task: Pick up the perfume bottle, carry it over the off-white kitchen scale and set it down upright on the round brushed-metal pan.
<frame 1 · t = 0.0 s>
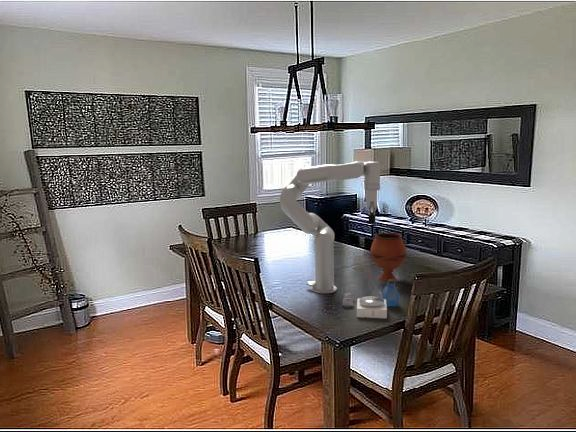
hand: (371, 221, 234), 37 cm above the table, tool pointing down, fingers open, 9 cm apart
scale: (371, 312, 213), on the table
goblet: (387, 279, 260), on the table
spacer a: (347, 305, 221), on the table
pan: (371, 301, 212), point 5 cm above the table, slide at -0.7 cm
spacer b: (348, 300, 228), on the table
perfume bottle: (390, 304, 222), on the table
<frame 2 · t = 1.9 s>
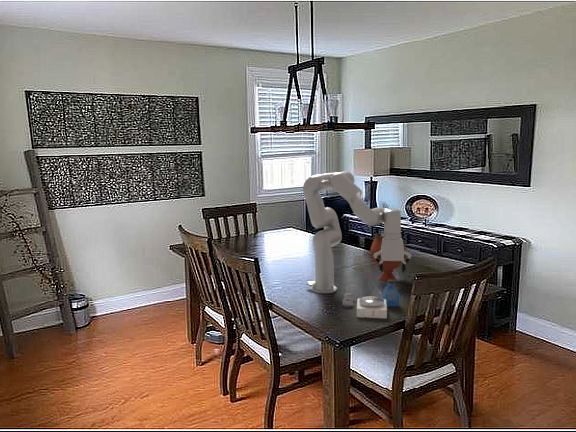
hand: (392, 271, 219), 16 cm above the table, tool pointing down, fingers open, 9 cm apart
nothing on the table moved.
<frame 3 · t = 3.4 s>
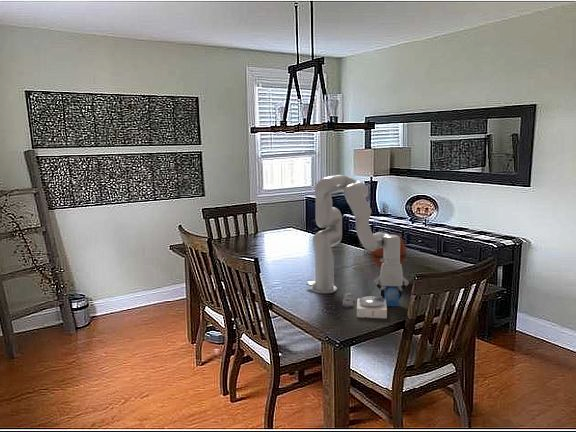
hand: (390, 297, 221), 3 cm above the table, tool pointing down, fingers closed on perfume bottle, 7 cm apart
perfume bottle: (390, 304, 222), on the table, touching gripper
everything else where it was.
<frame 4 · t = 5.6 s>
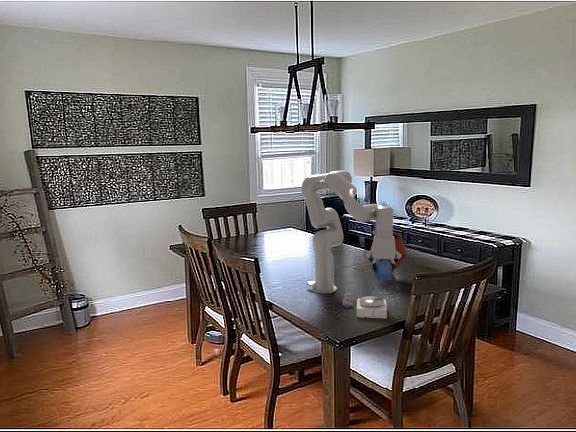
hand: (383, 271, 215), 17 cm above the table, tool pointing down, fingers closed on perfume bottle, 7 cm apart
perfume bottle: (383, 278, 216), point 14 cm above the table, touching gripper
everything else where it was.
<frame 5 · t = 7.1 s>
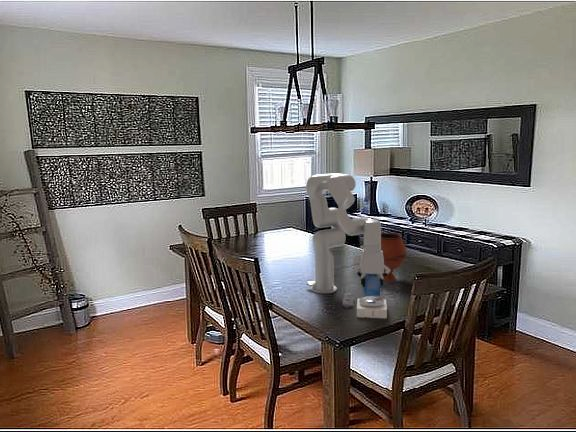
hand: (372, 286, 211), 12 cm above the table, tool pointing down, fingers closed on perfume bottle, 7 cm apart
perfume bottle: (372, 293, 211), point 9 cm above the table, touching gripper
everything else where it was.
when the fingers open (10 cm above the table, at t = 8.0 s): perfume bottle drops 1 cm, resting on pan.
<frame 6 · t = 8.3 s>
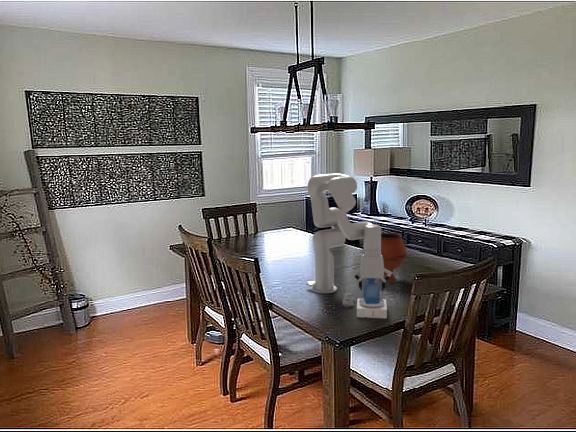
hand: (371, 289, 211), 11 cm above the table, tool pointing down, fingers open, 9 cm apart
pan: (371, 302, 212), point 5 cm above the table, slide at -1.0 cm, touching perfume bottle
perfume bottle: (371, 301, 212), point 5 cm above the table, touching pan
everything else where it was.
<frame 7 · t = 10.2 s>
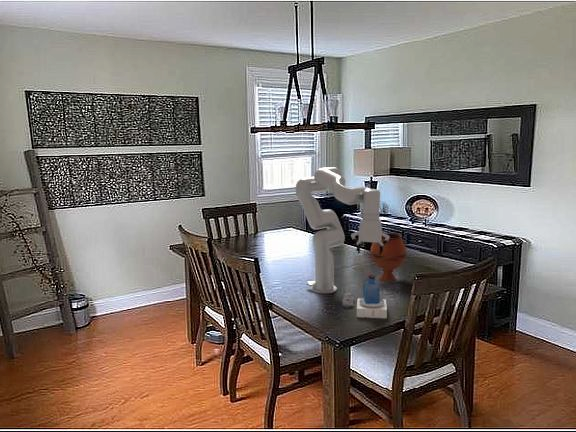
hand: (369, 253, 215), 26 cm above the table, tool pointing down, fingers open, 9 cm apart
nothing on the table moved.
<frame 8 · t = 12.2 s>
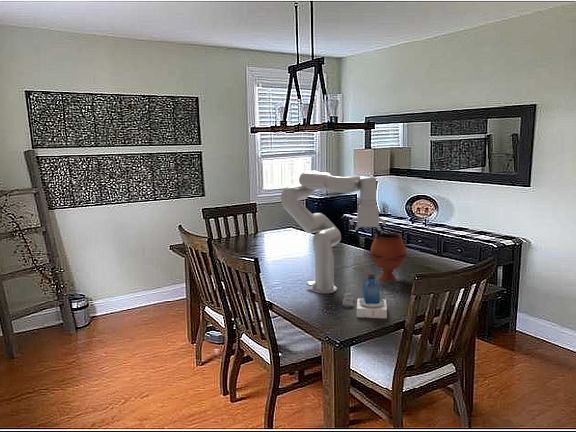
hand: (367, 238, 225), 30 cm above the table, tool pointing down, fingers open, 9 cm apart
nothing on the table moved.
at the end: perfume bottle inside the target area on the scale (0.1 cm from its centre), point 5.1 cm above the scale's base; perfume bottle tilted 0°; the gripper is holding nothing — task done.
